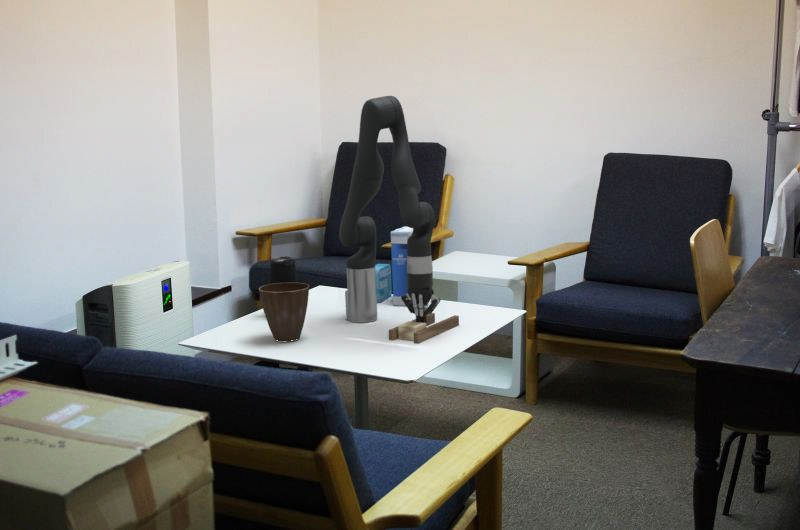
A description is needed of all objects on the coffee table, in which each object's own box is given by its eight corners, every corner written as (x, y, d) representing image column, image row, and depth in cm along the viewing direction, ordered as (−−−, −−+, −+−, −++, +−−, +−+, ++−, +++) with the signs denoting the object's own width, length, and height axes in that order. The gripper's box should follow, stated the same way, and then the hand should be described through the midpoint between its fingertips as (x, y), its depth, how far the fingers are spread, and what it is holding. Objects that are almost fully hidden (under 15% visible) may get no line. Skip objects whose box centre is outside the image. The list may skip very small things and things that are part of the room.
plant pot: (256, 336, 282) (253, 285, 279) (303, 330, 288) (300, 280, 285) (269, 348, 268) (266, 294, 265) (318, 341, 274) (315, 288, 271)
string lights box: (412, 306, 315) (410, 231, 310) (391, 306, 317) (389, 231, 313) (425, 298, 327) (423, 226, 322) (405, 297, 330) (402, 225, 325)
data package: (379, 303, 322) (378, 269, 320) (367, 302, 324) (366, 269, 322) (392, 296, 333) (391, 263, 331) (380, 295, 335) (379, 262, 333)
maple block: (398, 338, 271) (398, 325, 270) (409, 334, 276) (408, 321, 275) (416, 341, 268) (415, 327, 267) (426, 336, 272) (426, 323, 272)
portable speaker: (301, 317, 305) (298, 259, 301) (272, 320, 302) (269, 261, 299) (297, 312, 313) (294, 255, 309) (269, 314, 310) (266, 257, 307)
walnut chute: (389, 342, 270) (388, 330, 270) (430, 324, 290) (430, 312, 289) (418, 345, 265) (418, 333, 264) (459, 327, 285) (458, 315, 284)
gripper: (394, 271, 273) (396, 328, 277) (432, 274, 266) (433, 333, 269) (407, 266, 280) (409, 322, 283) (445, 269, 272) (447, 327, 275)
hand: (421, 327), depth 276 cm, fingers closed
